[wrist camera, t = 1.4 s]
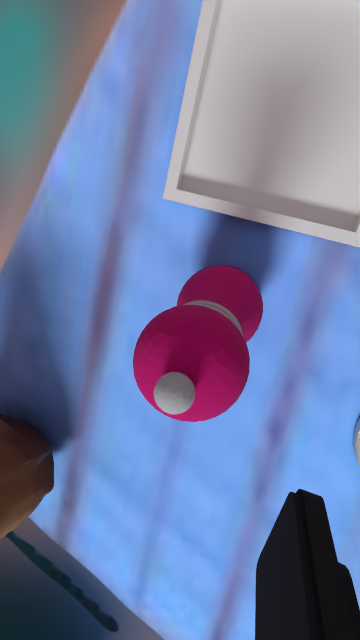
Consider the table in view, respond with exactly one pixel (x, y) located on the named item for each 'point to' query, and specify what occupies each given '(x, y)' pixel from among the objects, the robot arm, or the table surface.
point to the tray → (273, 116)
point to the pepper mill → (200, 346)
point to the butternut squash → (22, 471)
